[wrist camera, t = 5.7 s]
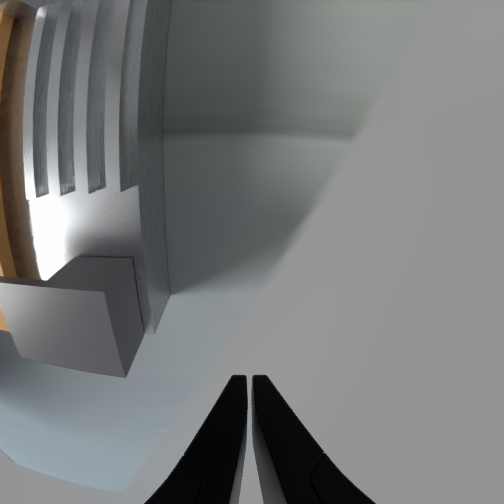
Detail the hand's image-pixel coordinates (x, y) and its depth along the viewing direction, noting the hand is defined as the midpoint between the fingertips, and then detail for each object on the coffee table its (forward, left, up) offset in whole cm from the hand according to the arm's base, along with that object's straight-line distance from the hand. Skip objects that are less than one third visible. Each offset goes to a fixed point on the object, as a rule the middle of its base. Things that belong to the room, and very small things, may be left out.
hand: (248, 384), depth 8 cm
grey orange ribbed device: (-8, -11, -9) cm, 17 cm away
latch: (0, -8, -5) cm, 9 cm away
